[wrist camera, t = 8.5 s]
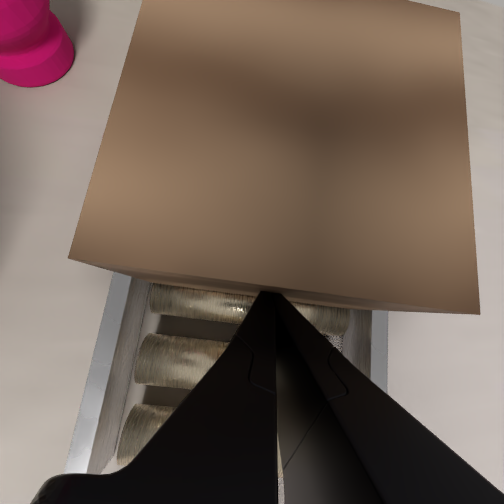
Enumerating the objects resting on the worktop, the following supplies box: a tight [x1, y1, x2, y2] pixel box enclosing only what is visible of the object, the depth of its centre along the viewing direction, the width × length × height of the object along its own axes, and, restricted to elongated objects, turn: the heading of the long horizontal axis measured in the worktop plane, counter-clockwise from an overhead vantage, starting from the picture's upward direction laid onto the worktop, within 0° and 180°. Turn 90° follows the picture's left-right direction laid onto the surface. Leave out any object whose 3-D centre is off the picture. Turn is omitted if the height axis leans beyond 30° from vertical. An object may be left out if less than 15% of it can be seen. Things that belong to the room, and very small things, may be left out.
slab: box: [68, 0, 480, 315], centre depth 12 cm, size 12×12×8 cm
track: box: [64, 272, 388, 478], centre depth 15 cm, size 26×16×6 cm, turn 173°
